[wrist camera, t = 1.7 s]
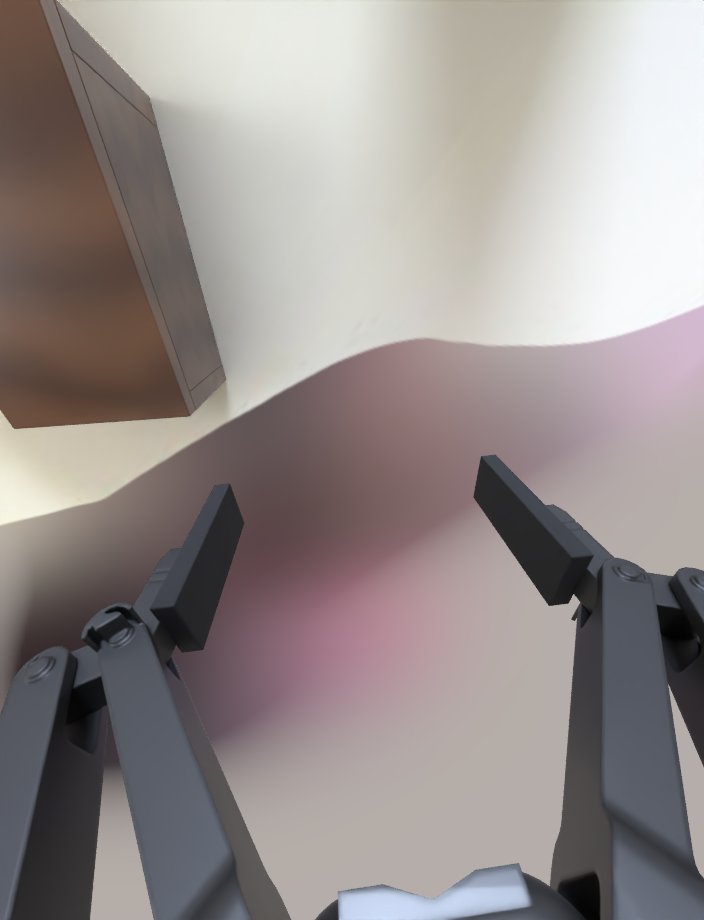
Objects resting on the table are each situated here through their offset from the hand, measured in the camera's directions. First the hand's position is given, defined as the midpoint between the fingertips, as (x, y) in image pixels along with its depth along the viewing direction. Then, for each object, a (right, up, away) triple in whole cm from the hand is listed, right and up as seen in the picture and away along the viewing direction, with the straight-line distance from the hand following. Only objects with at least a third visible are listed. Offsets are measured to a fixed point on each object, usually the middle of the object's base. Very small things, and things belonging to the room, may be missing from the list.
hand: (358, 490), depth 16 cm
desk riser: (-24, +21, +14) cm, 34 cm away
